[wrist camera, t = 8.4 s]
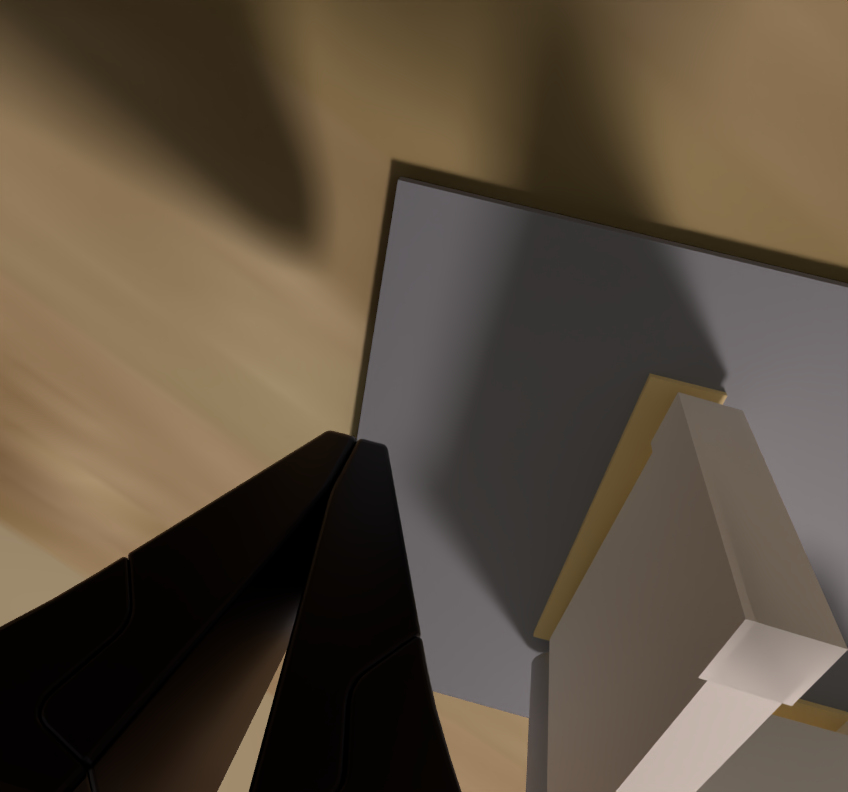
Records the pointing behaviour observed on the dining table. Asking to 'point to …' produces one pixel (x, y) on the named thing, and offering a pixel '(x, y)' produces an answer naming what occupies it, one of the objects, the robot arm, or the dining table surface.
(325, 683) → the robot arm
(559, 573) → the board
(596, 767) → the swing panel
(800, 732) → the fixed panel
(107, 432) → the dining table surface
